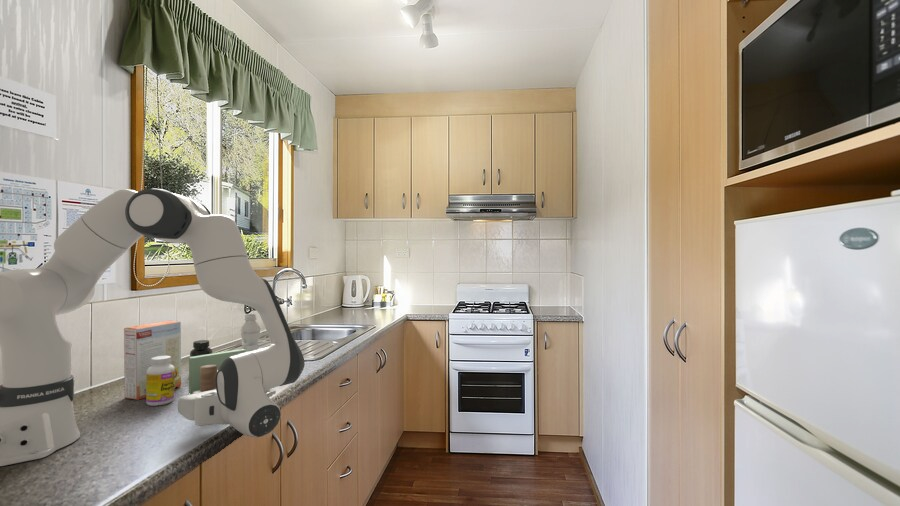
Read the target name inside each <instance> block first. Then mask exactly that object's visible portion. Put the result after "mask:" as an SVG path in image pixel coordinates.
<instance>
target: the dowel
mask: <svg viewBox="0 0 900 506" xmlns="http://www.w3.org/2000/svg"><path fill="white" fill-rule="evenodd" d="M216 374H217V365H205V366H202V367H200V392H205V391H210V390H214V389H216V382H215V380H216Z"/></svg>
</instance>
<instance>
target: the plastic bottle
mask: <svg viewBox="0 0 900 506" xmlns="http://www.w3.org/2000/svg"><path fill="white" fill-rule="evenodd" d="M260 334H261V327H260V325H259V323H258V322H257V314H253V313H252V314H245V315H244V323H243V324H242V326H241V329H240V336H241V347H242V348H241V349H245V350H246V352H248V351H249V352H250V351H253V350H257V349H259V342H260V341H259V340H260Z"/></svg>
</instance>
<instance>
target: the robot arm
mask: <svg viewBox="0 0 900 506" xmlns="http://www.w3.org/2000/svg"><path fill="white" fill-rule="evenodd" d="M143 236H145V237H148V238H151V239H156V240H159V241H162V242H166V243H179V244H184V245H187V246H188V248H189V250H190V252H191V255H192V262H193V264H194V265H193V266H194V270H195V271H194V272H195V275H196V279H197V282H198V284H199V287H200V289H201V290H202V291H203V292H204V293H205V294H206V295H208V296H209V297H211V298H212V299H213V298H214V299H216V300H219V301H221V302H227V303H231V304H232V303H233V304H238V305H239V304H240V305H244V306H248V307H251V308H253V310H255V311H257V313H258V315H259V316H260V319H261V320H262V323H263V326H264V328H265V330H266V332H267V335H268V337H269V340H270V345H268V346H264V347H261V348H258V349H257V350H253V351H250V352H249V351H248V352H244V353H241V354H237V355H234V356H231V357H227V358H226V359H225V360H224V361H223V363H222V364H221V366H220V367H219V369H218V372H217V374H216V380H215V382H216V389H214V390H210V391H205V392H200V391H195V392H193V393H192V394H187V395H185V394H184V395H181V396H180V397H178V399H177V400H178V401H177V411H178V414H179V415H181V416H182V417H183V418H184V419H186V420H189V421H194V424H195V426H197V427H203V426H211V425H230V426H231V427H233V429H235V430H236V431H238V433H240V434H243V435H244V436H247V437H250V438H251V437H252V438H260V437H263V436H267V435H268V434H269V433H271V432H273V430H275V428H276V427H277V425H279V423H280V421H281V417H282V411H281V409H280V407H279V406H278V404H277V403H276V402H275V401H274V400H273V399H272V398H270V397H273V396H274V395H275V394H277V393H276V389H274V388H278V387H282V386H286V385H290V384H294V383H296V382H297V381H298V380H299V378H300V377H301V374H302V373H303V371H304V368H305V364H306V362H305V357H304V355H303V352H302V350H301V348H300V346H299V344H298V343H297V342H296V340H295V337H294V336H293V334H292V332H291V329H290V327H289V324H288V322H287V319H286V317H285V314H284V312H283V309H282V307H281V305H280V303H279V300H278V298H277V295H276V293H275V292H274V290H273V288H272V286H271V284H270V282H269V281H268V280H267V279H265V278H262V277H260V276H259V275H258V274H257V272H255V270H254V269H253V267H252V265H251V262H250V259H249V257H248V251H247V248H246V244H245V242H244V239H243V236H242V233H241V231H240V228H239V227H238V225H237V222H236V221H235V220H234V219H233V218H231V217H230V216H228V215H225V214H213V213H212V211H211V210H210V209H209V208H208V207H207V206H206V205H204V204H203V203H201V202H198V201H196V200H194V199H192V198H190V197H188V196H185V195H182V194H177V193H173V192H171V191H169V190H167V189H163V188H145V189H141V190H139V191H136V190H134V189H127V188H126V189H125V188H124V189H118V190H116V191H114V192H113V193H111V194H109V195H108V196H106V197H105V198H103V199H101V200H100V201H98V202H97V203H95V204H94V205H93V206H91V207H90V208H89V209H87V211H85V212H84V213H83V214H82V215H81V216H80V217H78V219H76V220H75V221H74V222H73V223H72V224H71V225H69V226H68V227H67V228H66V229H65V230H64V231H63V232H62V233H60V235H58V237H56V239H54V242H53V250H54V252H53V254H52V256H51V257H50V259H49V260H48V261H47V262H46V263H45V264H43V265H41V266H38V267H36V268H25V269H24V268H23V269H21V268H20V269H19V268H17V269H8V270H4V271H0V351H1V367H2V368H1V370H2V371H1V375H2V376H1V377H2V379H1V381H2V382H1V383H2V384H1V385H0V467H4V466H8V465H14V464H18V463H23V462H24V463H25V462H29V461H33V460H38V459H43V458H46V457H48V456H50V455H51V454H53V453H54V452H56V451H57V450H59V449H62V448H64V447H67V446H69V445H70V444H72V443H74V442H76V441H77V440H78V439H79V438H80V436H81V433H80V430H79V428H78V426H77V425H78V424H77V422H76V416H75V412H74V411H75V410H74V403H73V401H74V399H75V398H74V397H75V389H76V388H75V387H76V386H75V385H76V384H75V377H74V375H73V374H72V361H73V360H72V357H73V355H72V353H73V352H72V349H73V347H72V342H71V341H70V339H69V338H67V337H66V336H64V335H63V333H61V331H60V329H59V326H58V323H57V319H56V316H59V315H63V314H65V315H66V314H68V313H71V312H74V311H76V310H78V309H80V308H82V307H84V306H85V305H87V304H88V303H89V302H91V300H92V299H93V298H94V294H95V291H96V287H95V286H96V285H97V284H98V282H99V280H100V279H101V277H102V276H103V274H104V273H105V272H106V271H107V270H108V269H109V268H110V267H111V266H112V265H113V264H114V263H115V262H116V261H118V260H119V259H120V258H121V256H123V255H124V253H126V252H127V251H128V250H129V249H130V248H131V247H133V245H135V244H136V242H138V241H139V239H141V238H143Z"/></svg>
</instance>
